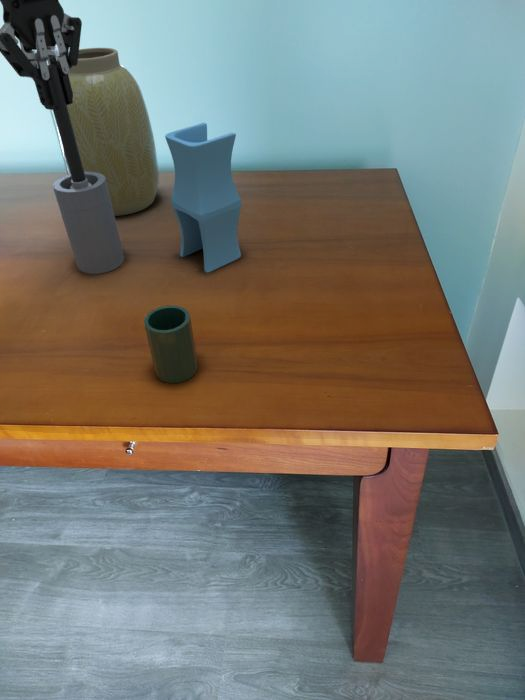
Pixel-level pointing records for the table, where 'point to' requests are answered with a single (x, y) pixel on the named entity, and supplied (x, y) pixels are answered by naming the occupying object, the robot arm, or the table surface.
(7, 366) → the table surface
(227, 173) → the blue bent piece
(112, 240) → the cup
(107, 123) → the vase
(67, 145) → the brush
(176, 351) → the holder
